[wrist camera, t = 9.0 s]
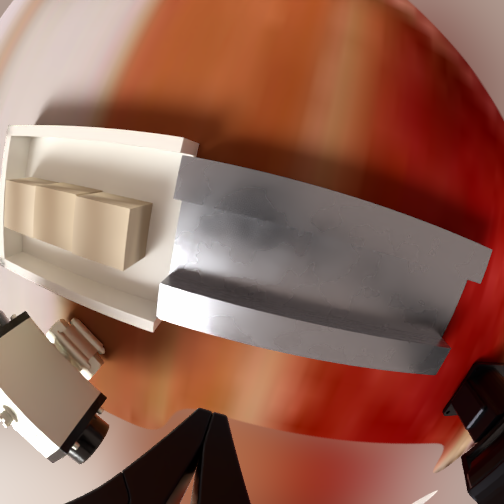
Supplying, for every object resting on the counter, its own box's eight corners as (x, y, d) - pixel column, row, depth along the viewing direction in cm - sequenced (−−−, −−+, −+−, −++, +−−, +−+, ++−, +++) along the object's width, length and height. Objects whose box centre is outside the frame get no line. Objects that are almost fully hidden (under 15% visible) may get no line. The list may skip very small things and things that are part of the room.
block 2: (102, 190, 17) (75, 194, 14) (97, 241, 18) (72, 252, 15) (63, 182, 17) (35, 185, 14) (59, 229, 18) (33, 237, 15)
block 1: (62, 183, 17) (35, 186, 14) (59, 229, 18) (33, 238, 15) (32, 177, 17) (6, 180, 14) (28, 219, 18) (4, 226, 15)
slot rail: (471, 240, 16) (492, 250, 14) (423, 356, 19) (435, 375, 16) (195, 157, 17) (182, 154, 14) (170, 301, 19) (156, 317, 17)
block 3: (152, 203, 17) (130, 208, 14) (145, 256, 18) (123, 271, 15) (102, 191, 17) (75, 196, 14) (97, 242, 18) (71, 253, 15)
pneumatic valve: (51, 276, 20) (-52, 337, 9) (145, 374, 22) (79, 480, 10) (35, 311, 21) (-48, 371, 10) (118, 397, 23) (59, 485, 11)
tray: (199, 143, 16) (183, 137, 14) (168, 312, 20) (152, 332, 17) (32, 127, 17) (8, 125, 14) (22, 255, 20) (0, 265, 17)
